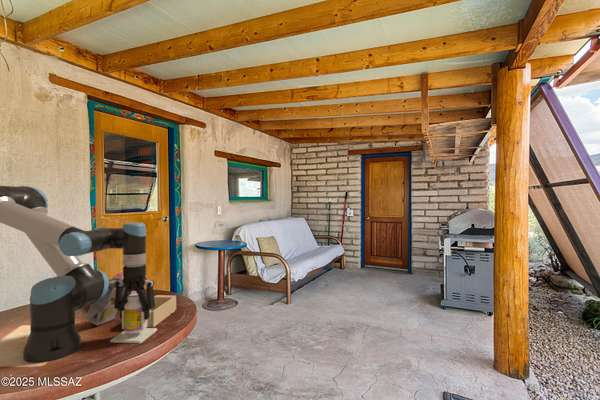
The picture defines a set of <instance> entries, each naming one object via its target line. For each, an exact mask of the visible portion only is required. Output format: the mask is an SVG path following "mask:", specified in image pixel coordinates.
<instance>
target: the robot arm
mask: <svg viewBox="0 0 600 400" xmlns="http://www.w3.org/2000/svg"><path fill="white" fill-rule="evenodd" d="M48 206H49V204H48V197H47V196H46V194H45V193H44V192H43V191H42V190H40V189H39V188H36V187H31V186H28V185H27V186H25V185H21V186H15V185H14V186H11V185H0V224H3V225H6V226H8V227H9V228H13V229H15V230H17V231H20V232H23V233H24V234H25V236H27V238H28V239H29V240H30V242H31V243H32V245H34V247H35V249H37V251H38V252H39V253H40V255H41V257H42V258H43V259H44V260H45V262H46V263H47V264H48V266H49V267H50V268H51V270H52V271H53V273H54V274H55V275H56V276H54V277H49V278H48V277H47V278H46V279H45V278H44V279H42V280H40V281H38V282H36V283H35V284H34V285H32V286H31V289H30V295H29V306H30V307H29V308H30V309H29V312H30V313H29V314H30V315H29V316H30V322H29V323H30V333H29V335H28V337H27V340H26V343H25V347H24V348H23V351H22V352H23V354H22V358H23V360H24V361H25V362H29V363H40V362H41V363H42V362H48V361H52V360H56V359H60V358H63V357H66V356H69V355H70V354H73V353H75V352H76V351H78V350H79V349H80V348H81V346H82V337H81V335H80V334H79V331H78V328H77V325H76V311H78V310H80V309H83V308H86V307H88V306H91V304H93V303H96V302H97V301H98V300H100V299H102V298H103V297H104V296H105V295H106V293H107V291H108V286H109V280H110V279H109V278H108V276H107V274H106V273H105V272H104V271H102V270H99V269H93V267H92V266H91V265H90V263H87V262H82V261H81V259H80V258H79V257H80V256H84V255H87V254H91V253H95V252H101V251H104V250H108V249H109V250H111V249H116V250H117V249H119V250H120V249H121V250H122V265H123V267H122V272H123V276H124V278H123V280H119V281H117V282H115V286H116V295H115V305H114V308H115V309H118V311H119V319H121V329H122V330H124V306H125V304H126V303H127V302H128V300H127V297H128V295H131V292H132V291H136V292H137V294H138V296H139V299H140V302H141V304H142V307H143V311H141V330H143V329H145V328H148V327H147V319H149V310H150V309H152V308H154V307H155V302H154V296H155V293H154V285H155V281H154V280H151V281H150V280H148V279H147V278H146V275H147V265H146V264H147V249H146V247H147V228H146V224H145V223H144V222H125V223H123V224H122V227H120V228H119V227H118V228H117V227H99V228H98V227H97V228H93V229H91V230H90V229H89V230H84V229H81V228H78V227H75V226H73V225H71V224H69V223H66V222H63V221H61V220H59V219H56V218H53V217H51V216H49V215H47V214H48V212H49V210H48ZM123 285H125V287H126V288H125V290H124V296H123ZM145 288H146V289H145ZM122 296H123V299H122Z"/></svg>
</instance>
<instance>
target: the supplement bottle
mask: <svg viewBox="0 0 600 400" xmlns="http://www.w3.org/2000/svg"><path fill="white" fill-rule="evenodd" d="M127 300H128V302H127V303H126V304H125V306H124V329H123V331H125V333H129V334H133V333H138V332H140V331H142V330H141V311H143V307H142V304H141V302H140V299H139V296H138V294H131V295H128V297H127Z"/></svg>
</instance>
